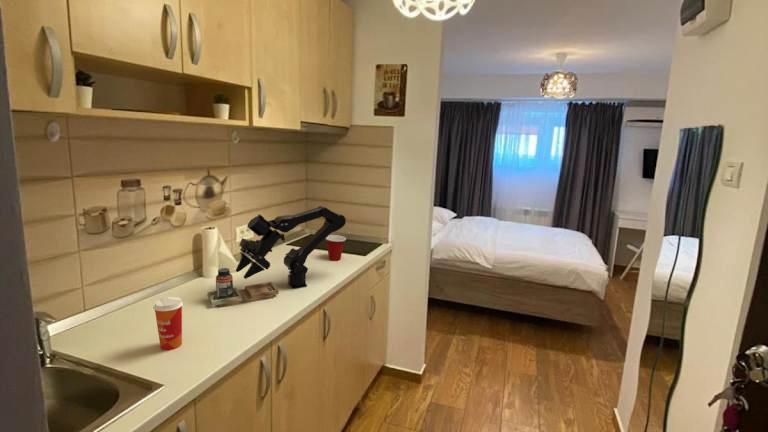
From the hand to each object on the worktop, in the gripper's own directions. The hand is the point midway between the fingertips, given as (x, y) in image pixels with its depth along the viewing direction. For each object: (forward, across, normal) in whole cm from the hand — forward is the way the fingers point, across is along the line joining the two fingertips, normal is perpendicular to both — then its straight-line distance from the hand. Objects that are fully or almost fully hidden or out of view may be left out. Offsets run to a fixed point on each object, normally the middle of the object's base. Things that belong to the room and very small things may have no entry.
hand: (240, 274), depth 156 cm
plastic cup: (-32, -24, +47) cm, 62 cm away
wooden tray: (+6, +1, +7) cm, 9 cm away
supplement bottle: (+10, 0, +1) cm, 10 cm away
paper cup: (+27, +26, -15) cm, 40 cm away
